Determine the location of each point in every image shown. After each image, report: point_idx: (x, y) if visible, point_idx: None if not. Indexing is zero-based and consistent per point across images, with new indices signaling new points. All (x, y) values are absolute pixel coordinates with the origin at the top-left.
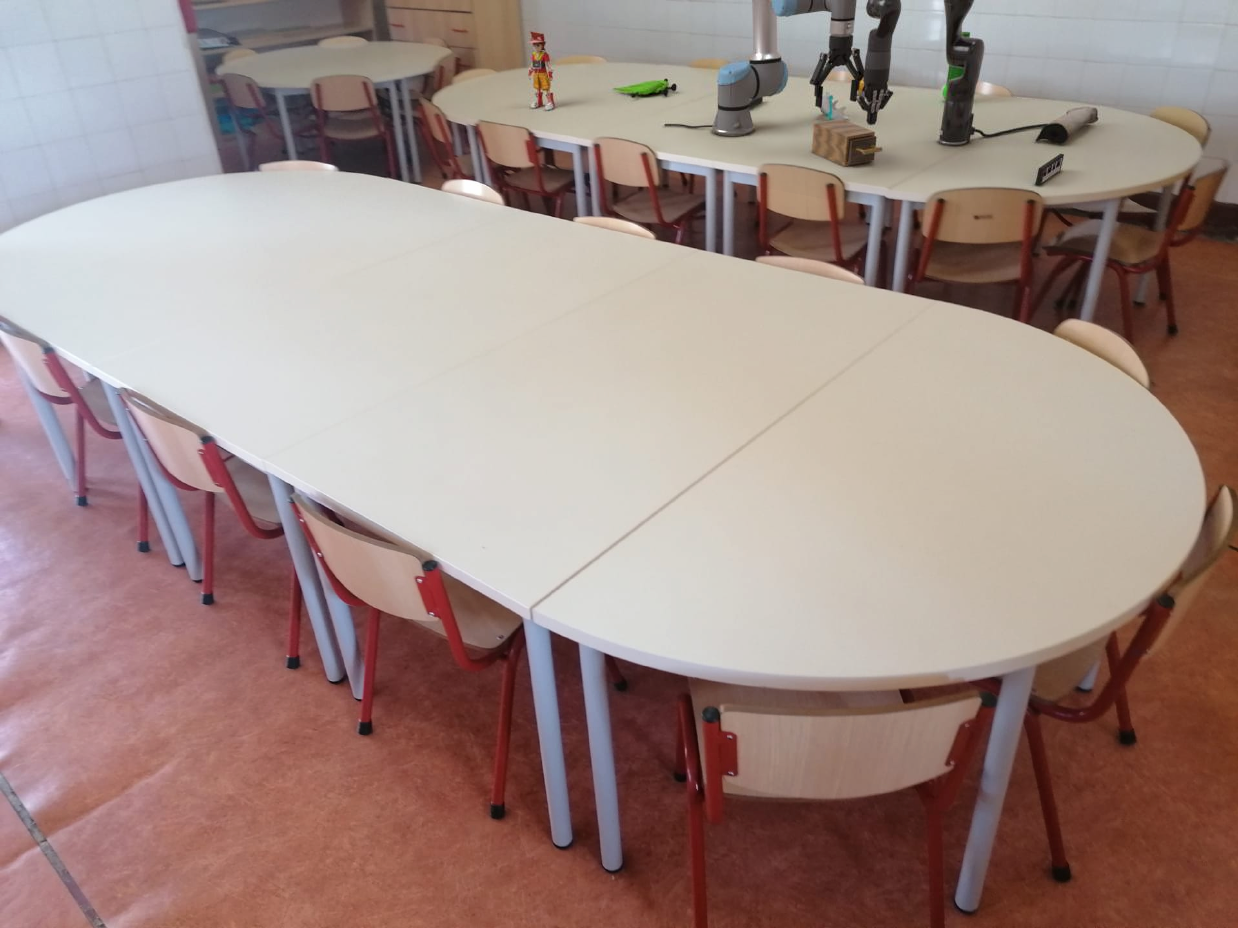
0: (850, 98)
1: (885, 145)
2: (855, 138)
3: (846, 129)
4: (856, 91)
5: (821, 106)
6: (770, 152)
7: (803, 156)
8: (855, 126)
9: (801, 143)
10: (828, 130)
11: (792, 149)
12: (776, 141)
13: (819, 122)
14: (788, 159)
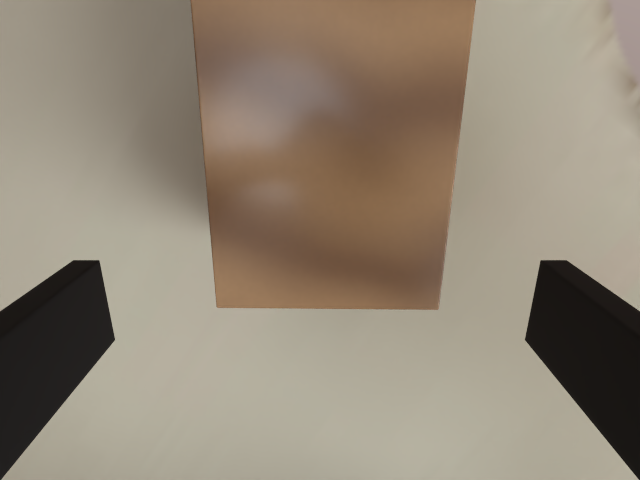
0: (102, 345)
1: (8, 136)
2: None
3: (353, 5)
4: (2, 321)
5: (550, 265)
6: None
7: (481, 199)
8: (232, 50)
9: (357, 371)
10: (459, 109)
11: (447, 319)
12: (426, 441)
13: (397, 303)
14: (572, 196)
